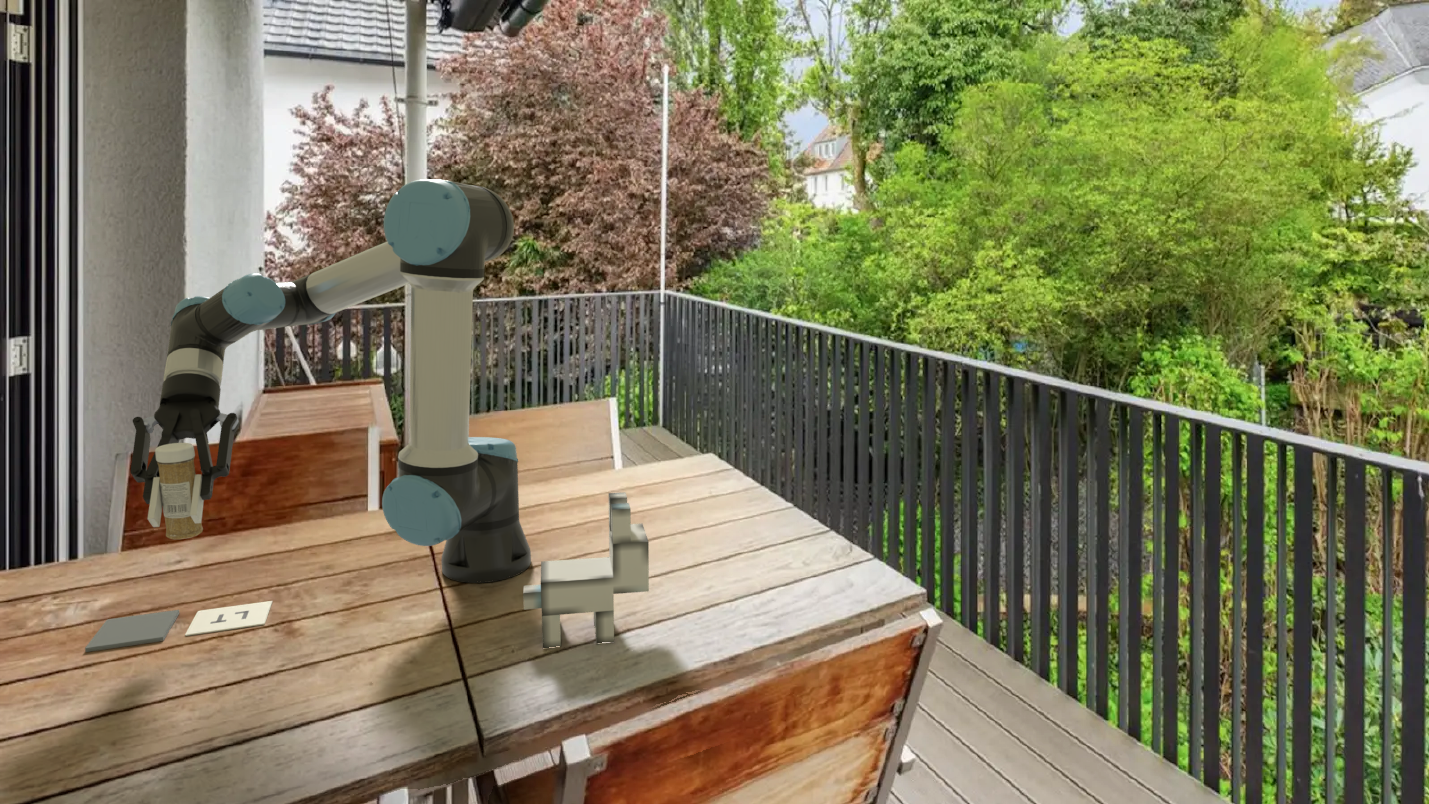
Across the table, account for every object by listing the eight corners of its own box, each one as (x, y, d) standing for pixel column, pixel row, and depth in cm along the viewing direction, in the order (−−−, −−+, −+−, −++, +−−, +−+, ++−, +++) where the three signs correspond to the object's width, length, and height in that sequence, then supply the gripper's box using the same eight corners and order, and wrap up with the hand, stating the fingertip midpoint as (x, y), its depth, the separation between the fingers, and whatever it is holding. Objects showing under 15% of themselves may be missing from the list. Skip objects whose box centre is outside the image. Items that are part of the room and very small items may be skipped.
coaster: (179, 613, 118) (179, 609, 118) (163, 640, 110) (162, 636, 110) (107, 623, 115) (107, 619, 114) (85, 652, 106) (84, 648, 106)
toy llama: (526, 625, 116) (521, 497, 112) (642, 616, 119) (642, 491, 115) (524, 650, 108) (519, 514, 105) (648, 639, 112) (648, 507, 108)
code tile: (272, 601, 122) (272, 600, 122) (264, 624, 115) (264, 623, 115) (198, 612, 118) (197, 610, 118) (185, 636, 111) (184, 634, 111)
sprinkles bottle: (210, 529, 115) (200, 442, 113) (190, 541, 111) (179, 450, 108) (179, 528, 115) (168, 441, 113) (157, 540, 111) (146, 449, 108)
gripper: (260, 395, 127) (250, 526, 115) (133, 400, 120) (109, 538, 109) (251, 368, 121) (240, 503, 109) (117, 372, 115) (89, 515, 103)
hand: (174, 520), depth 109 cm, fingers closed on sprinkles bottle, 4 cm apart
